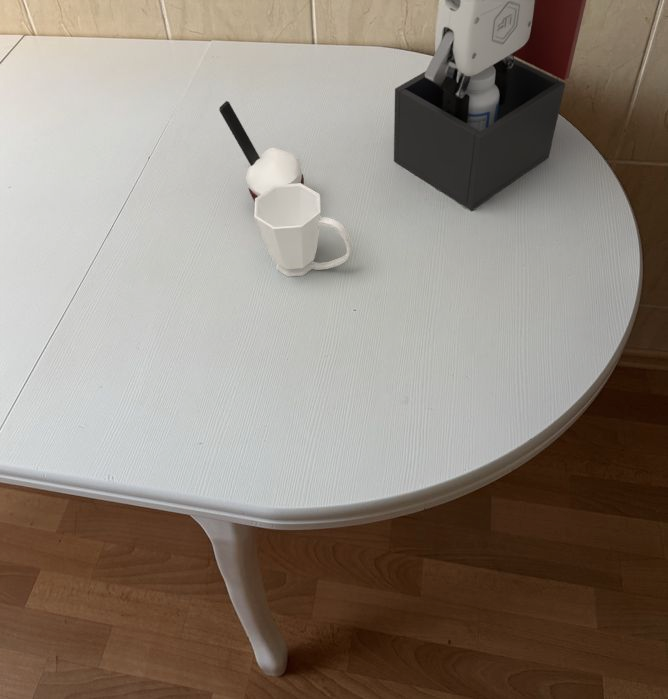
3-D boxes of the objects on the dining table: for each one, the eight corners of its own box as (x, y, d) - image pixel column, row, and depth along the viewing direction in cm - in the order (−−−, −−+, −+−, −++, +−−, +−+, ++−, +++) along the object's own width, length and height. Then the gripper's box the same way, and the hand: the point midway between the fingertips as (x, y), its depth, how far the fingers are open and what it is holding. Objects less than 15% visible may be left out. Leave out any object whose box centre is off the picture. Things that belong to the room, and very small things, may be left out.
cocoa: (323, 212, 80) (315, 121, 71) (278, 238, 78) (264, 148, 69) (275, 172, 85) (261, 83, 76) (232, 195, 83) (212, 106, 73)
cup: (277, 234, 79) (268, 176, 72) (362, 252, 76) (361, 194, 70) (252, 278, 75) (240, 221, 68) (340, 299, 72) (336, 242, 66)
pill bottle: (465, 127, 85) (473, 50, 77) (502, 145, 82) (514, 67, 74) (436, 148, 82) (441, 71, 75) (472, 167, 80) (481, 89, 72)
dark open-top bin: (471, 211, 79) (481, 137, 71) (393, 161, 85) (394, 88, 77) (548, 157, 84) (565, 83, 76) (470, 113, 90) (478, 40, 82)
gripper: (457, -17, 59) (444, 161, 73) (584, -82, 65) (549, 93, 80) (395, -43, 63) (394, 131, 77) (521, -103, 69) (498, 68, 83)
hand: (473, 110), depth 78 cm, fingers closed on pill bottle, 5 cm apart
